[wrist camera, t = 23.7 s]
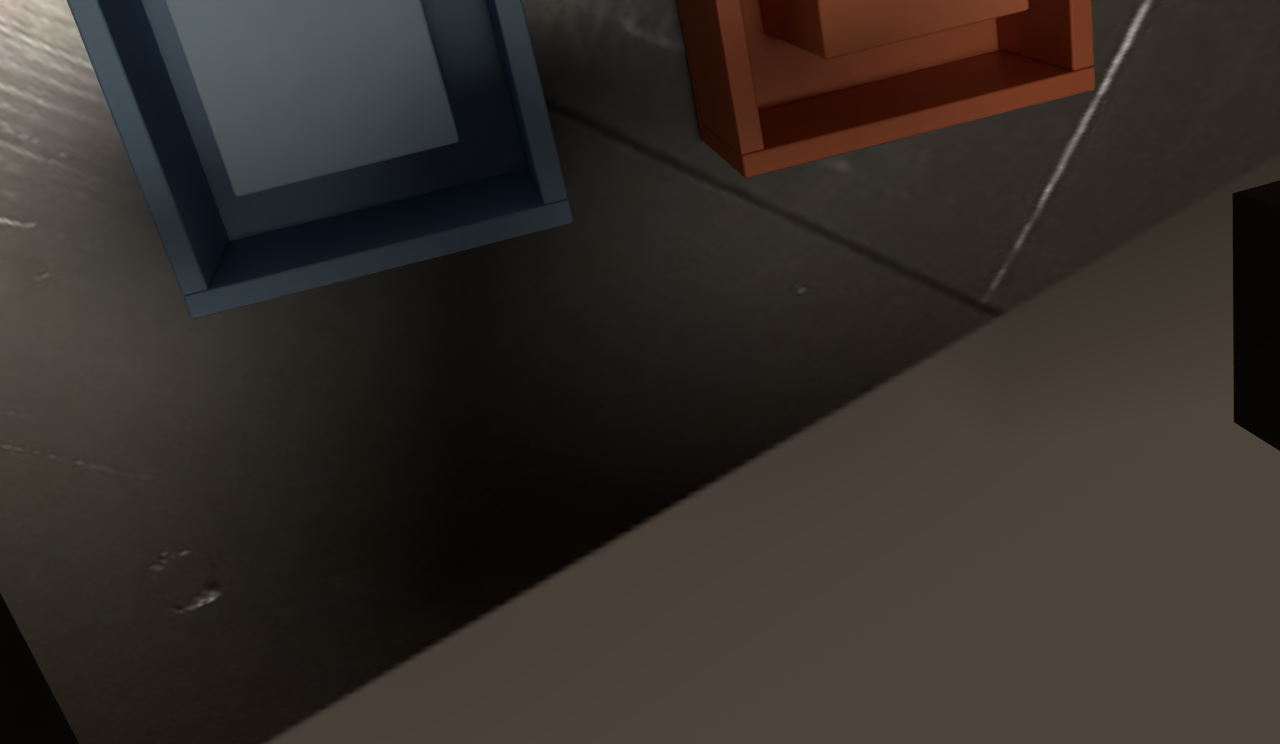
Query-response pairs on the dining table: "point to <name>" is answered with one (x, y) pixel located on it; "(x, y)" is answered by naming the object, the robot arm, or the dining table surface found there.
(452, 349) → the dining table surface
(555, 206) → the slate-blue bin
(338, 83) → the slate-blue block
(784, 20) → the terracotta block
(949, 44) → the terracotta bin
